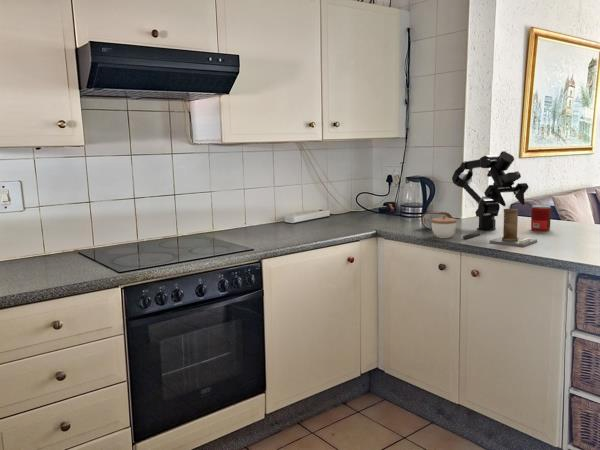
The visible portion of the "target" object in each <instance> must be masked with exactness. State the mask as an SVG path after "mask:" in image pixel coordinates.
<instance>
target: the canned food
mask: <svg viewBox="0 0 600 450" xmlns="http://www.w3.org/2000/svg"><path fill="white" fill-rule="evenodd" d="M530 211H531V216H530V217H531V219H530V229H531V230H532V231H535V232H549V231H550V229H551V218H552V217H551V216H552V214H551V213H552V207H551V205H547V204H546V205H545V204H533V205H532V206H531V210H530Z"/></svg>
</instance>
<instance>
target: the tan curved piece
mask: <svg viewBox="0 0 600 450" xmlns="http://www.w3.org/2000/svg"><path fill="white" fill-rule="evenodd" d="M443 216H445V218H453V216H452V215H451V214H450V213H449V212H446V211H432V210H430V211H427V212H424V213H423V215H422V217H421V224H422V226H423V227H424V228H426V229H428V228H431V229H430V230H432V222H431V219H434V218H443Z"/></svg>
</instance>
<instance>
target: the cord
mask: <svg viewBox="0 0 600 450" xmlns="http://www.w3.org/2000/svg"><path fill="white" fill-rule="evenodd" d="M480 235H481V232H480V231H475V232H472V233H471V232H470V233H468V234H465V235H464V234H463V236H462V239H463V240H467V239H471V238H473V237H474V238H475V237H477V236H480Z"/></svg>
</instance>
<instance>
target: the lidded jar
mask: <svg viewBox="0 0 600 450" xmlns="http://www.w3.org/2000/svg"><path fill="white" fill-rule="evenodd" d="M431 222H432V229H431V230H432V233H433V234H434V235H435V236H436V238H438V237H439V238H440V239H450V238H452V236H453V235H454V234H455V233H456V229H457V219H456V218H453V217H452V218H445V216H443V218H434V219H431ZM449 237H450V238H449Z"/></svg>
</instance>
